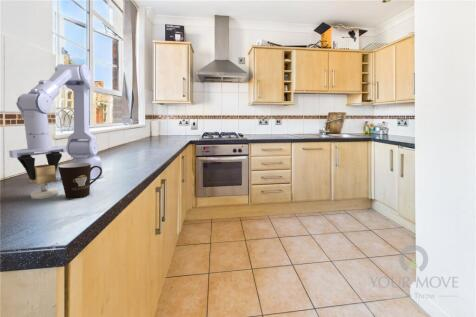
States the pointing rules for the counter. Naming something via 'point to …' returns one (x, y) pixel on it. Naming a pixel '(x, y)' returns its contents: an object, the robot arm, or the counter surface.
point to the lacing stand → (44, 193)
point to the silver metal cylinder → (44, 187)
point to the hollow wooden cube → (44, 174)
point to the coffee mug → (77, 179)
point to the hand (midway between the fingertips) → (43, 177)
